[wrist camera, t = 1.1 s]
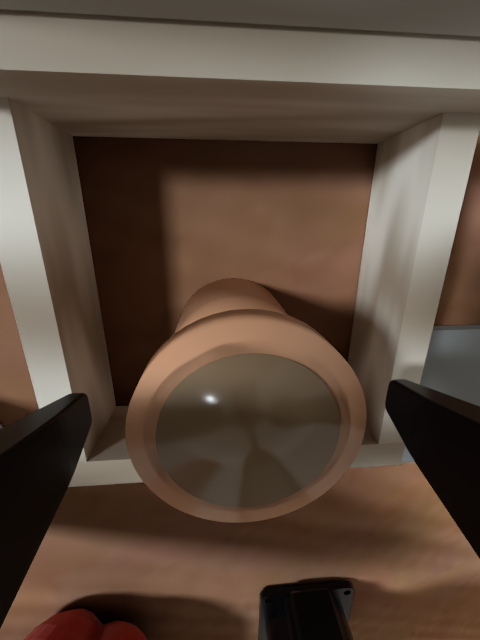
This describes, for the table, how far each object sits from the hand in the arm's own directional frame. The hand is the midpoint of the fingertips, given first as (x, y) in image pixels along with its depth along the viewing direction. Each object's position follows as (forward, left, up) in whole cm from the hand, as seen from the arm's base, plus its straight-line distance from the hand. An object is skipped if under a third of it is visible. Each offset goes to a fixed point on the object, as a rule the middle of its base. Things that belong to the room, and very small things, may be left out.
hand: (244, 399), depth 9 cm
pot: (0, 0, -5) cm, 5 cm away
